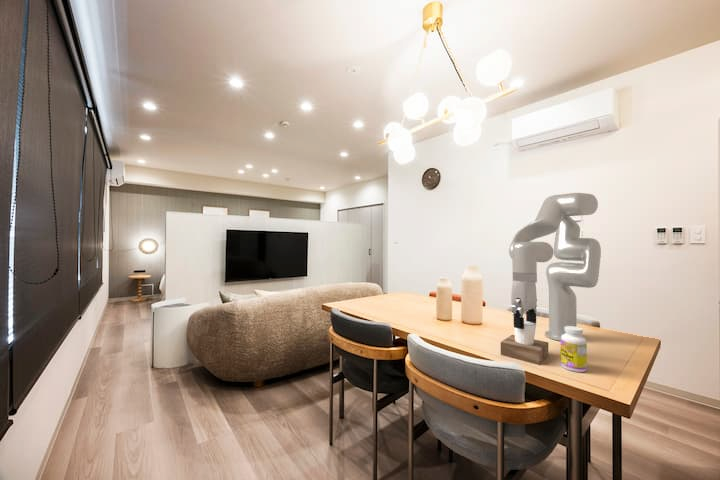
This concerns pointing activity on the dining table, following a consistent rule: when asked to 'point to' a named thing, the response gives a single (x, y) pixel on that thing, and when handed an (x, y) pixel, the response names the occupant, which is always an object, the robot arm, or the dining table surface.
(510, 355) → the walnut block
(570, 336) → the supplement bottle
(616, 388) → the dining table surface
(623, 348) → the dining table surface
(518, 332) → the white cup
